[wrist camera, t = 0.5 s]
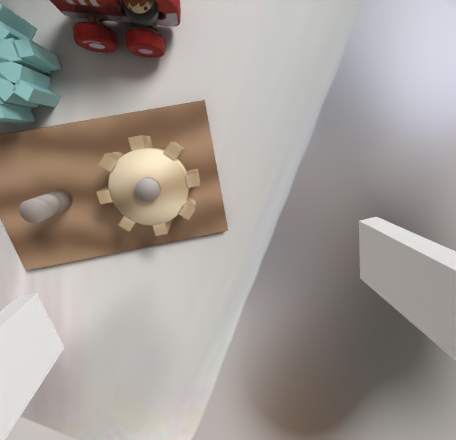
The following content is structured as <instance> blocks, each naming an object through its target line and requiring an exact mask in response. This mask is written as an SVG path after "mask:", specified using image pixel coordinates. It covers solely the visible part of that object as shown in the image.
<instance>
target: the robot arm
mask: <svg viewBox="0 0 456 440" xmlns="http://www.w3.org/2000/svg"><path fill="white" fill-rule="evenodd" d="M359 241H360V242H359V243H360V278H361V279H362V280H363V281H364V282H365V283H366V284H368V285H369V286H370V287H371V288H372V289H373V290H375V291H376V292H377V293H378V294H379V295H380V296H381V297H383V298H384V299H385V300H386V301H387V302H389V303H390V304H391V305H392V306H393V307H394V308H395V309H396V310H398V311H399V312H400V313H401V314H402V315H404V316H405V317H406V318H407V319H408V320H409V321H410V322H412V323H413V324H414V325H415V326H416V327H417V328H419V329H420V330H421V331H422V332H423V333H424V334H425V335H427V336H428V337H429V338H430V339H431V340H432V341H433V342H435V343H436V344H437V345H438V346H439V347H440V348H442V349H443V350H444V351H445V352H446V353H447V354H448V355H450V356H451V357H452V358H453V359H454V360H456V252H455V251H453V250H451V249H449V248H446V247H444V246H442V245H439V244H437V243H435V242H433V241H430V240H428V239H426V238H423V237H421V236H419V235H417V234H414V233H412V232H410V231H407V230H405V229H403V228H401V227H398V226H396V225H394V224H392V223H389V222H387V221H385V220H383V219H380V218H378V217H374V218H370V219H365V220H361V221H359ZM64 348H65V347H64V345H63V343H62V341H61V339H60V337H59V335H58V333H57V331H56V330H55V328H54V326H53V324H52V322H51V320H50V318H49V316H48V314H47V312H46V310H45V308H44V306H43V305H42V303H41V301H40V299H39V297H38V295H37V293H34V294H30V295H25V296H21V297H17V298H15V299H14V300H13V301H12V302H11V303H10V304H8V305H7V306H6V307H5V308H4V309H3V310H2V311H0V440H5V439H6V438H7V436H8V434H9V433H10V431H11V430H12V428H13V427H14V425H15V424H16V422H17V421H18V419H19V417H20V416H21V414H22V413H23V411H24V410H25V408H26V407H27V405H28V404H29V402H30V400H31V399H32V397H33V396H34V394H35V393H36V391H37V390H38V388H39V386H40V385H41V383H42V382H43V380H44V379H45V377H46V376H47V374H48V373H49V371H50V369H51V368H52V366H53V365H54V363H55V362H56V360H57V359H58V357H59V355H60V354H61V352H62V351H63V349H64Z"/></svg>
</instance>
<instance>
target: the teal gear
mask: <svg viewBox="0 0 456 440" xmlns="http://www.w3.org/2000/svg"><path fill="white" fill-rule="evenodd" d="M35 32H36V28H35V27H34V26H32V25H31V24H30V23H28V22H27V21H25V20H24V19H22V18H21V17H20V16H18V15H17V14H15V13H14V12H12V11H11V10H10V9H8V8H7V7H5V6H4V5H2V4H1V3H0V121H3V122H13V123H22V124H24V123H30V122H35V119H34V117H33V114H32V111H31V110H33V109H32V107H34V108H37V107H38V106H39V105H40V104H42V105H46V106H51V107H56V105H57V103H58V101H59V99H60V97H59V96H58V95H56V94H55V93H53V92H52V91H50V90H49V87H50V81H51V78H50V77H48V76H46V75H43V74H49V73H50V71H55V70H61V67H60V64H59V61H58V58H57V55H55V54H53V53H52V52H50V51H48V50H47V49H45V48H43V47H42V46H40V45H38V44H37V43H35V42H33V41H32V38H33V36H34V34H35Z"/></svg>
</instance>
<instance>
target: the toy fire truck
mask: <svg viewBox="0 0 456 440" xmlns="http://www.w3.org/2000/svg"><path fill="white" fill-rule="evenodd" d="M50 1H51V2H52V3H53V4H54V5H55V6H56V7H57V8H58V9H59V10H60V11H61V12H62V13H63V14H65V15H67V16H69V17H73V18H84V19H88V20H89V21H90V22H78V23H75V25H74V26H73V32H74V39H75V42H76V43H77V44H78V45H79V46H81V47H83V48H85V49H88V50H92V51H97V52H113V51H115V50H116V49H117V38H116V34H115V32H114V31H113V30H111V29H110V28H108V27H106V26H103V25H100V24H99V22H102V21H117V22H131V23H132V29H130V30H128V31H127V32H126V34H125V40H126V48H127V49H128V50H129V51H130V52H131V53H133V54H136V55H139V56H143V57H161V56H163V55H164V52H165V41H164V38H163V37H162V36H161V35H160V34H158V33H157V28H156V25H162V26H178V25H179V24H180V14H181V9H180V0H50Z"/></svg>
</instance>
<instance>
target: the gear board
mask: <svg viewBox="0 0 456 440" xmlns="http://www.w3.org/2000/svg"><path fill="white" fill-rule="evenodd" d="M0 218H1V220H2V222H3V224H4V226H5V228H6V230H7V232H8V234H9V237H10V239H11V241H12V243H13V245H14V247H15V249H16V251H17V253H18V255H19V257H20V260H21V262H22V264H23V266H24V268H25V270H26V271H27V270H32V269H37V268H42V267H47V266H52V265H57V264H62V263H67V262H72V261H77V260H82V259H87V258H92V257H97V256H102V255H107V254H112V253H117V252H122V251H127V250H132V249H137V248H143V247H148V246H153V245H158V244H163V243H168V242H173V241H178V240H183V239H188V238H193V237H198V236H203V235H208V234H213V233H218V232H223V231H228V227H227V222H226V216H225V211H224V205H223V200H222V194H221V189H220V183H219V177H218V172H217V166H216V161H215V155H214V150H213V144H212V139H211V133H210V128H209V122H208V117H207V111H206V106H205V100H202V101H196V102H191V103H185V104H179V105H173V106H167V107H161V108H155V109H150V110H144V111H138V112H132V113H126V114H120V115H114V116H108V117H103V118H97V119H91V120H85V121H79V122H73V123H67V124H61V125H56V126H50V127H44V128H38V129H32V130H26V131H20V132H15V133H9V134H3V135H0Z"/></svg>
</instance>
